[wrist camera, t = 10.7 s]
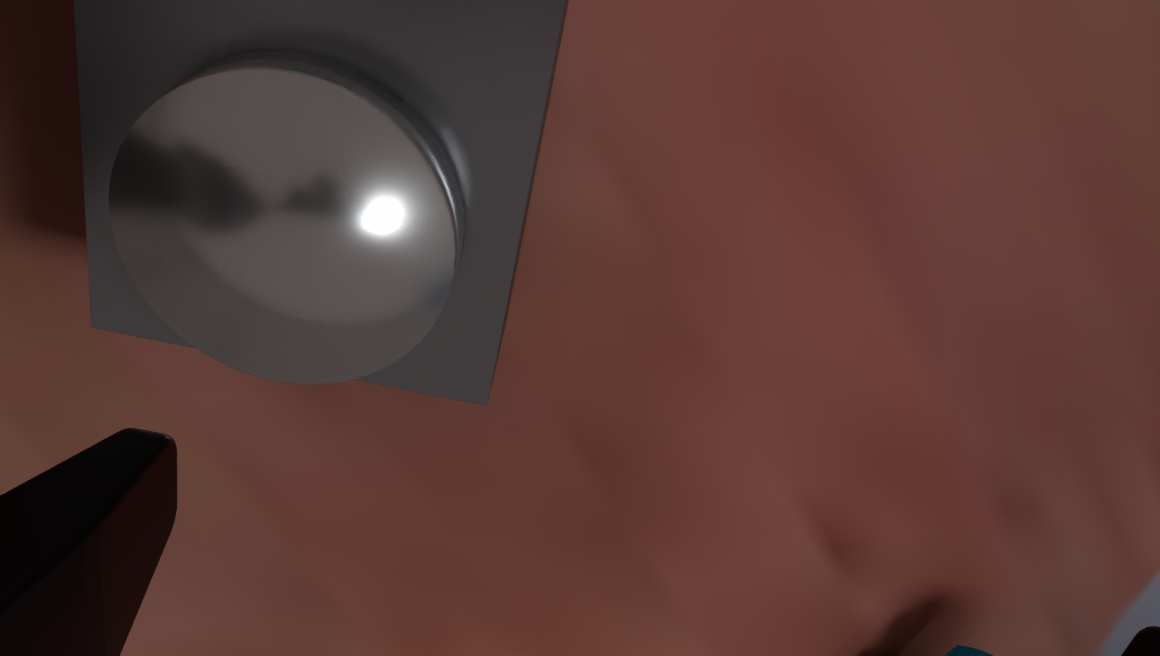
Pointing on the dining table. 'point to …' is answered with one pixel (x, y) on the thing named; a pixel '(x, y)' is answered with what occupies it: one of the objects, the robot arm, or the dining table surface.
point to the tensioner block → (314, 180)
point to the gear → (966, 652)
